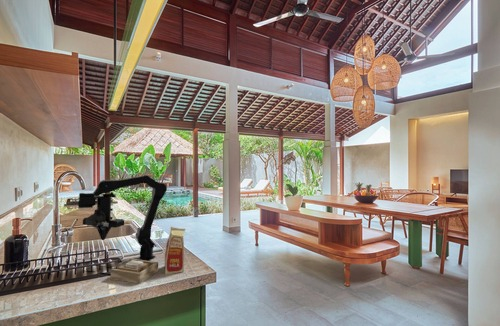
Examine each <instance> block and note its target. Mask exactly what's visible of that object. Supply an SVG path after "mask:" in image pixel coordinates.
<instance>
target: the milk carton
mask: <svg viewBox="0 0 500 326" xmlns="http://www.w3.org/2000/svg"><path fill="white" fill-rule="evenodd" d="M185 231H186V228H180V227H174V226H170V232H169V236H168V239H167V242H166V245H165V246H166V247H165V251H164V252H165V253H164V272H165V275H172V274H177V273H178V274H179V273H184V272H185V243H184V236H185V235H184V234H185Z"/></svg>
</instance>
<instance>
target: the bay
mask: <svg viewBox="0 0 500 326" xmlns="http://www.w3.org/2000/svg"><path fill="white" fill-rule="evenodd" d="M132 260H134V261H141V262H143V263H148V268H146V269H144V270H143V271H141V272H140V273H139V272H132V271H126V270H119V269H115V268H110V274H111V275H110V280H116V281H122V282H126V281H127V283H132V282H133V284H139V283H140V284H142V283H143V282H145V281H146V280H147V279H149V278H150V277H151V276H153V275H154V274H156V273H157V272H158V271H159V262H158V261H152V260H149V261H146V260H139V259H137V258H129V261H132Z"/></svg>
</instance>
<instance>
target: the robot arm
mask: <svg viewBox="0 0 500 326" xmlns="http://www.w3.org/2000/svg"><path fill="white" fill-rule="evenodd" d="M143 184H146V185H147V186H149V187H151V188H152V189H151V190H152V191H151V200H150V203H149V206H148V209H147V212H146V215H145V218H144V221H143V224H142V225H141V227H137V229H136V230H137V231H136V233H135V235H134V236H135V239H136V241H137V243H138V244H139V246H140V247H139V249H140V250H139V257H138V258H136V259H139V260H146V261H152V259H154V258H156V255H154V247H155V244H156V243H154V241H153V240H152V239H151V237H152V236H151V235H152V226H153V223H154V220H155V217H156V214H157V211H158V209H159V206H160V202H161V201H162V200H163V198H164V196H165V194H166V192H167V190H168V189H167V188H168V187H167V185H166V184H165V183H163V182H160V181H159V182H158V181H157V180H155V179H154V178H152V177H151V176H150V175H147V174H143V175H140V176H134V177H128V178H123V179H102V180H100V181H99V182H98V184H97V187H96V188H95V190H93V192H87V193H85V192H79V195H78V203H77V204H78V206H77V208H78V209H90V208H91V209H92V208H93V207H95V206H96V209H94V211H93V212H94V213H93V214H91V215H88V216H87V217H84V218H83V219H82V225H85V226H88V227H89V226H90V227H92V228H94V229H96V230H97V232H98V234H99V238H100V240H101V241H104V240H106V237H107V236H108V234H109V233H110V230H111V229H112V228H114V229H116V228H117V229H118V228H119V227H122V226H125V219H122V218H114V219H113V216H111V215H112V213H111V212H113V210H114V209H113V208H112V198H116V197H117V196H116V194H114V192H113V191H116V190H118V189H122V188H126V187H131V186H136V185H143ZM96 203H97V204H96Z"/></svg>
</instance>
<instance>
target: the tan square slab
mask: <svg viewBox="0 0 500 326" xmlns="http://www.w3.org/2000/svg"><path fill="white" fill-rule="evenodd" d="M116 267H117V269H119V270H126V271H132V272H139V273H140V272H141V271H143V270H144V269H146V268H148V263H143V262H141V261H134V260H132V261H130V258H127V259H125V260H123V261H121V262H119V263H118V266H116Z"/></svg>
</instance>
